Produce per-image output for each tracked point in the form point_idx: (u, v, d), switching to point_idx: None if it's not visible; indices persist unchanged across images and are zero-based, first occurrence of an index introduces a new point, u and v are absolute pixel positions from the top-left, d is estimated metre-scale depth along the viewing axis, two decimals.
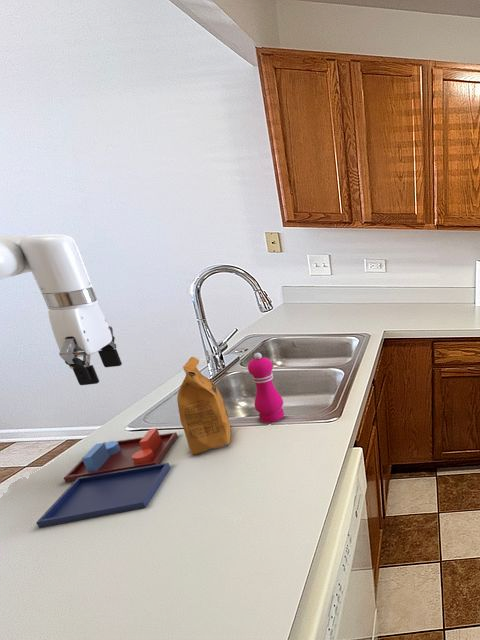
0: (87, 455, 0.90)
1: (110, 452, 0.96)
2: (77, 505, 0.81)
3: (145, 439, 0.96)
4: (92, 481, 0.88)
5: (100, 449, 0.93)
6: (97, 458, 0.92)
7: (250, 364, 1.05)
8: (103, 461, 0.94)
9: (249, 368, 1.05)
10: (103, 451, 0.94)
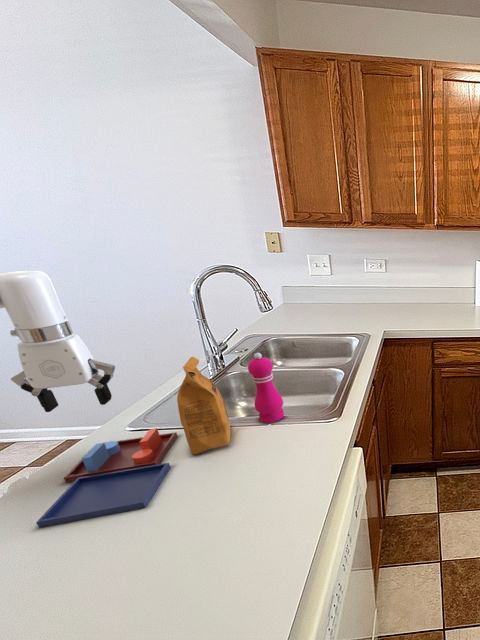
0: (87, 455, 0.90)
1: (110, 452, 0.96)
2: (77, 505, 0.81)
3: (145, 439, 0.96)
4: (92, 481, 0.88)
5: (100, 449, 0.93)
6: (97, 458, 0.92)
7: (250, 364, 1.05)
8: (103, 461, 0.94)
9: (249, 368, 1.05)
10: (103, 451, 0.94)
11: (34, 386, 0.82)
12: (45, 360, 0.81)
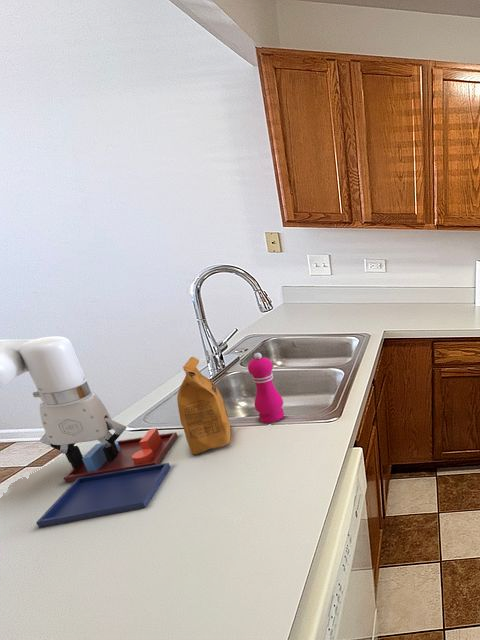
0: (87, 455, 0.90)
1: None
2: (77, 505, 0.81)
3: (145, 439, 0.96)
4: (92, 481, 0.88)
5: (100, 449, 0.93)
6: (97, 458, 0.92)
7: (250, 364, 1.05)
8: (103, 461, 0.94)
9: (249, 368, 1.05)
10: None
11: (53, 443, 0.87)
12: (65, 419, 0.86)
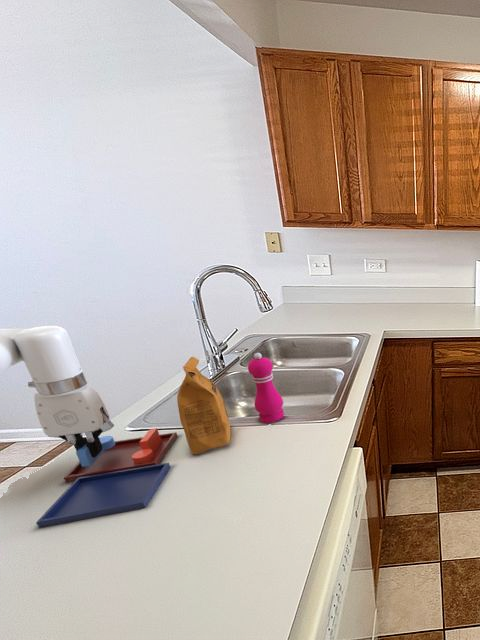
0: (81, 449, 0.89)
1: (105, 447, 0.96)
2: (77, 505, 0.81)
3: (145, 439, 0.96)
4: (92, 481, 0.88)
5: None
6: None
7: (250, 364, 1.05)
8: (97, 455, 0.93)
9: (249, 368, 1.05)
10: None
11: (48, 434, 0.86)
12: (60, 410, 0.85)
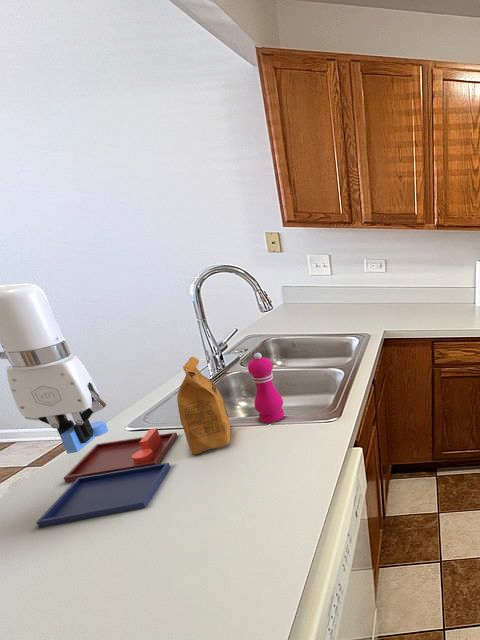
0: (66, 432, 0.75)
1: (95, 432, 0.81)
2: (77, 505, 0.81)
3: (145, 439, 0.96)
4: (92, 481, 0.88)
5: None
6: None
7: (250, 364, 1.05)
8: None
9: (249, 368, 1.05)
10: None
11: (26, 415, 0.71)
12: (38, 386, 0.70)
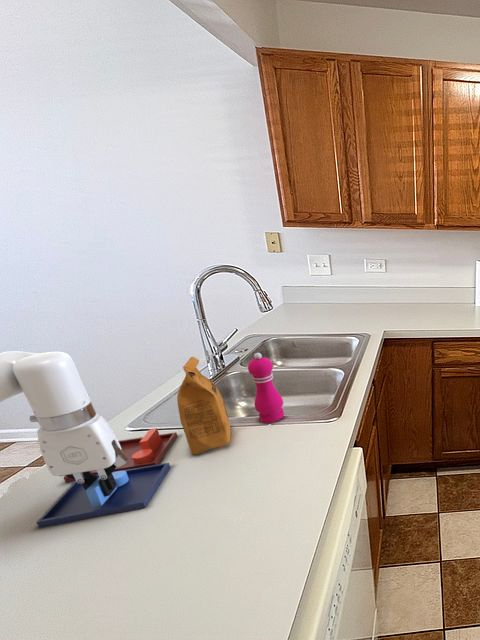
0: (91, 487, 0.79)
1: (117, 483, 0.86)
2: (77, 505, 0.81)
3: (145, 439, 0.96)
4: None
5: None
6: None
7: (250, 364, 1.05)
8: None
9: (249, 368, 1.05)
10: None
11: (54, 473, 0.76)
12: (67, 447, 0.75)
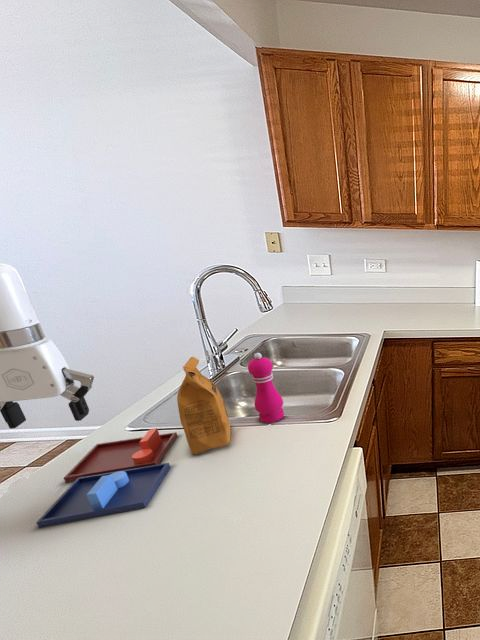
0: (92, 491, 0.79)
1: (118, 485, 0.86)
2: (77, 505, 0.81)
3: (145, 439, 0.96)
4: (92, 481, 0.88)
5: (107, 483, 0.82)
6: (104, 493, 0.81)
7: (250, 364, 1.05)
8: (110, 496, 0.83)
9: (249, 368, 1.05)
10: (110, 484, 0.83)
11: None
12: (10, 369, 0.69)
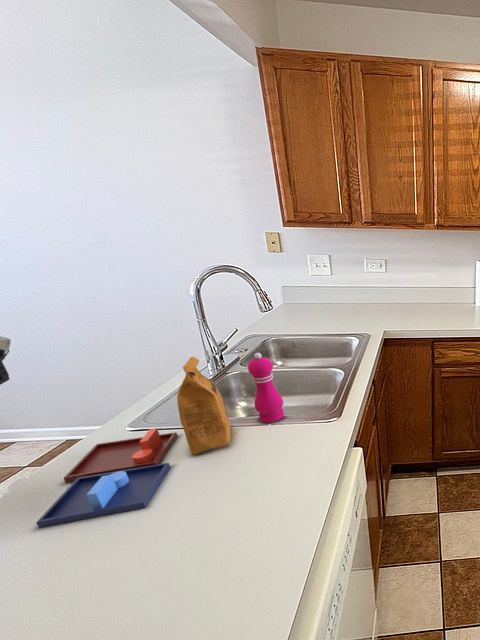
0: (92, 491, 0.79)
1: (118, 485, 0.86)
2: (77, 505, 0.81)
3: (145, 439, 0.96)
4: (92, 481, 0.88)
5: (107, 483, 0.82)
6: (104, 493, 0.81)
7: (250, 364, 1.05)
8: (110, 496, 0.83)
9: (249, 368, 1.05)
10: (110, 484, 0.83)
11: None
12: None
